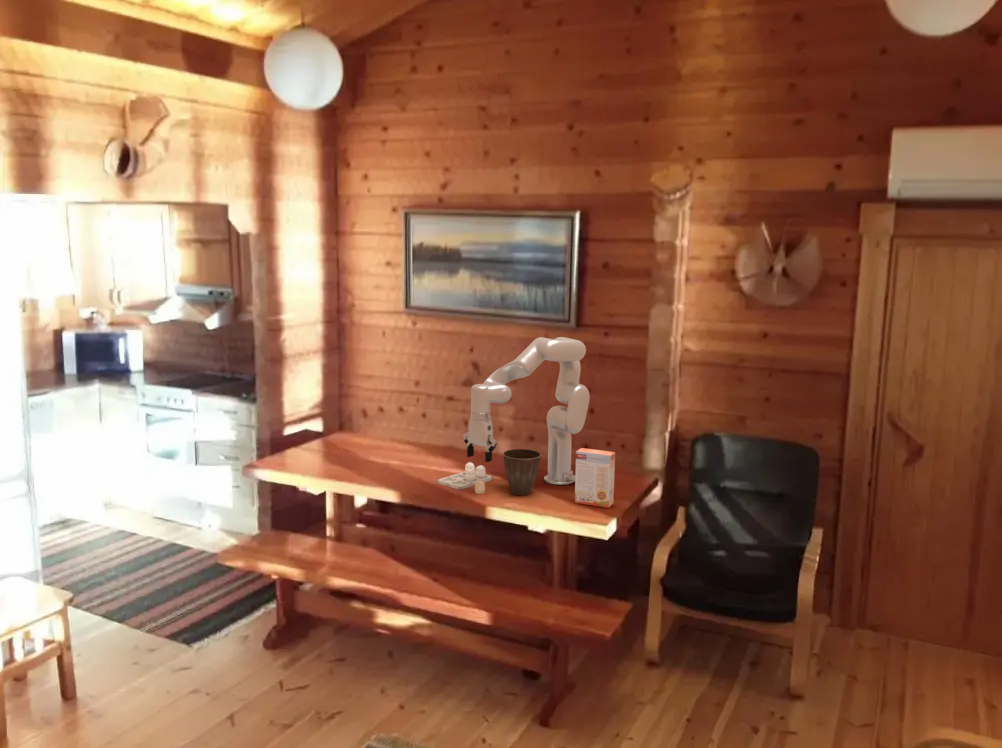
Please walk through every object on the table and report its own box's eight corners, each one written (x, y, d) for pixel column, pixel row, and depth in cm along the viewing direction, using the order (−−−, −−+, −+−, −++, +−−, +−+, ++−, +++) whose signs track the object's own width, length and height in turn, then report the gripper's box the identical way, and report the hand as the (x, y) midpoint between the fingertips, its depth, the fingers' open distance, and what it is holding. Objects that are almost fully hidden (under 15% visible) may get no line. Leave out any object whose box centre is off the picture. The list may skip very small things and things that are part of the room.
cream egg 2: (477, 482, 356) (477, 468, 355) (470, 484, 353) (470, 470, 352) (470, 480, 359) (470, 466, 357) (463, 482, 356) (463, 468, 355)
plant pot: (539, 487, 354) (540, 449, 352) (540, 498, 340) (541, 459, 337) (502, 486, 354) (503, 448, 352) (502, 498, 340) (503, 458, 337)
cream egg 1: (476, 476, 364) (476, 462, 363) (469, 478, 361) (470, 464, 360) (469, 474, 367) (469, 460, 366) (463, 476, 364) (463, 462, 363)
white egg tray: (492, 481, 361) (492, 476, 360) (459, 492, 346) (459, 486, 346) (469, 475, 369) (469, 470, 369) (436, 485, 355) (436, 479, 355)
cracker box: (613, 504, 334) (616, 451, 331) (608, 508, 329) (610, 455, 325) (579, 498, 341) (581, 446, 337) (574, 503, 335) (575, 450, 331)
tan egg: (487, 494, 344) (487, 480, 343) (480, 497, 341) (480, 482, 340) (479, 492, 346) (479, 478, 345) (472, 494, 344) (472, 480, 342)
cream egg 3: (487, 479, 360) (487, 465, 359) (480, 481, 357) (480, 467, 356) (480, 477, 363) (480, 463, 362) (473, 479, 360) (473, 465, 359)
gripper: (503, 418, 335) (502, 461, 338) (470, 411, 346) (470, 453, 349) (490, 421, 330) (489, 465, 332) (457, 413, 341) (456, 456, 344)
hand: (479, 458), depth 341 cm, fingers open, 9 cm apart
